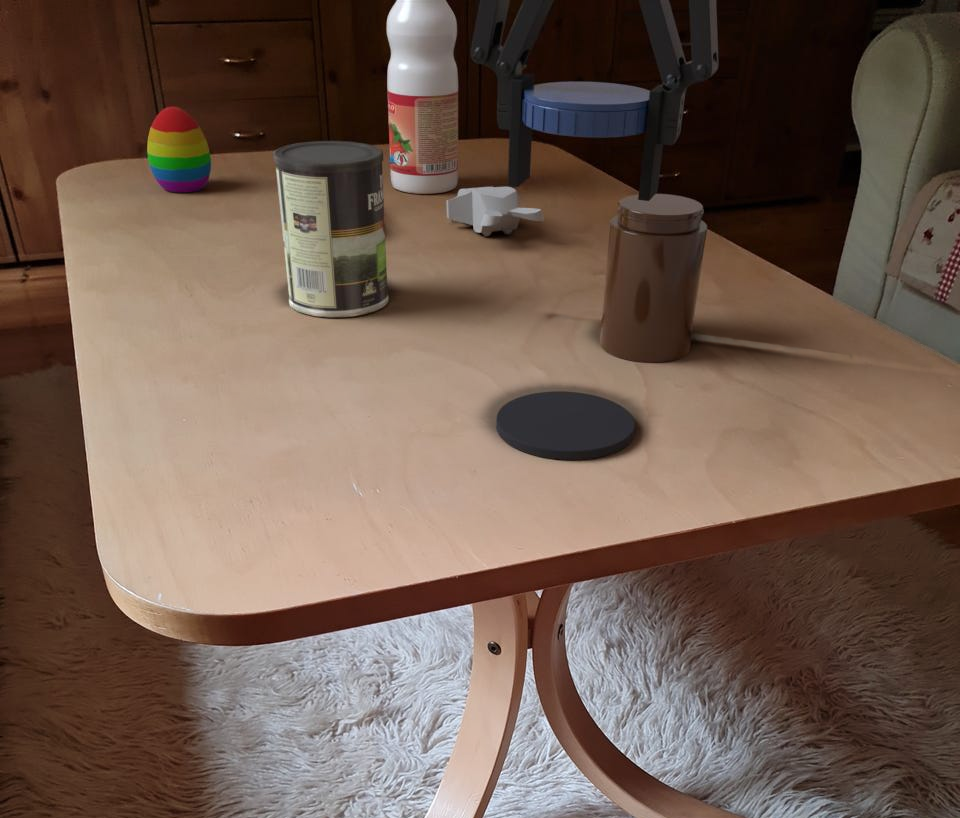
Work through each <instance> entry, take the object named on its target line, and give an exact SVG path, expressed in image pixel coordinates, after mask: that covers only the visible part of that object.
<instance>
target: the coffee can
mask: <svg viewBox="0 0 960 818" xmlns="http://www.w3.org/2000/svg"><path fill="white" fill-rule="evenodd" d="M272 158H273V162H274V164H275V172H276V182H277V193H278V201H279V202H278V203H279V212H280V221H281V231H282V241H283V250H284V257H285V258H284V260H285V269H286V280H287V291H288V304H289V306H290V307H291V308H292V309H293V310H294V311H296V312H299V313H301V314H305V315H308V316H312V317H319V318H350V317H351V318H352V317H359V316H364V315H368V314H372V313H376V312H377V311H379V310H381V309H383V308H384V307H386V305H387V304H388V303H389V299H390V298H389V297H390V296H389V294H388V290H389V289H388V271H387V269H388V268H387V247H386V223H385V200H384V199H385V197H384V196H385V195H384V177H383V175H384V174H383V162H384V151H383V149H381V148H380V147H377V146H375V145H372V144H368V143H362V142H358V141H346V140H345V141H341V140H316V141H307V142H306V141H305V142H304V141H303V142H297V143H291V144H288V145H283V146H281V147H279V148H276V150H274V151H273V152H272Z"/></svg>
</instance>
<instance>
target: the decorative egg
mask: <svg viewBox="0 0 960 818" xmlns="http://www.w3.org/2000/svg"><path fill="white" fill-rule="evenodd" d="M146 149H147V150H146V152H147V160H148V164H149V169H150V171H151V173H152V175H153V177H154V179H155V180H156V183H158V185H159V186H160V187H161V188H162V189H164V191H167V192H171V193H193V192H197V191H198V192H199V191H201V190H203V189H204V188H205V187H206V185H207V183H208V181H209V178H210V175H211V172H212V171H211V170H212V158H211V152H210V147H209V145H208V141H207V138H206V136H205V134H204V132H203V131H202V129H201V127H200V126H199V124H198V123H197V122H196V120H195V119H194V118H193V116H191V115H190V114H189V113H188V112H187V111H185V109H183V108H180V107H178V106H167V107H164V108H162V110H161V111H160V112H158V114H157V115H156V116H155V118H154V119H153V122H152V124H151V126H150V128H149V131H148V136H147V146H146Z"/></svg>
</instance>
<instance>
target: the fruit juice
mask: <svg viewBox="0 0 960 818" xmlns="http://www.w3.org/2000/svg"><path fill="white" fill-rule="evenodd" d="M386 36H387V41H388V45H389V48H390V59H389V61H388V65H387V72H386V73H387V76H386V77H387V79H386V80H387V81H386V85H387V86H386V88H387V110H388V137H389V138H388V140H389V165H390V167H389V168H390V180H391V186H392V187H393V188H394V189H395V190H396V191H399V192H404V193H409V194H417V195H432V194H441V193H446V192H450V191H453V190H455V189H456V188H457V186H458V182H459V181H458V180H459V72H458V66H457V62H456V60H455V56H454V55H455V54H454V52H455V51H454V50H455V46H456V42H457V37H458V23H457V18H456V15H455V13H454V11H453V10H452V8H451V7H450V5H449V3H448V2H447V0H395V2H394V4H393V5H392V7H391V8H390V11H389V13H388V15H387V19H386Z"/></svg>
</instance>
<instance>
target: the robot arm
mask: <svg viewBox="0 0 960 818" xmlns="http://www.w3.org/2000/svg"><path fill="white" fill-rule="evenodd" d="M554 1H555V0H523V1H522V3H521V5H520V6H519V9H518V11H517V14H516V17H515V19H514V21H513V23H512V26H511V28H510V30H509V33H508V35H507V37H506V39H505V41H504V44H503V45H502V42H503V36H504V31H505V26H506V22H507V16H508V13H509V8H510V7H509V6H510V2H511V0H479V4H478V9H477V14H476V19H475V25H474V29H473V35H472V42H471V46H470V58H471V60H472V61H473V63H475V64H476V65H483V66H485V67H486V68H489V69H490V70H492V71H493V72H494V74H495V75H496V79H497V100H496V104H497V105H496V123H497V127H498V129H499V130H505V131H506V130H507V131H509V136H508V137H509V138H508V140H509V141H508V165H507V186H509V187H511V186H512V187H519V186H521V185H522V184H523V183H525V182H527V181H528V180H529V179H530V178H531V162H532V144H533V143H532V141H533V129H531V128H529V127H527V126H526V125H525V124H524V122H523V121H522V106H523V99H524V91H525V89H526V88H528V87H530V86H533V85H535V80H536V79H535V76H536V75H535V74H531V73H523V71H524V70H525V69H526V68H527V66H528V65H527V64H526V62H527V61H528V59H529V56H530V54H531V51H532V50H533V47H534V45H535V43H536V41H537V38H538V37H539V34H540V32H541V29H542V27H543V25H544V23H545V21H546V18H547V16H548V14H549V12H550V10H551V7H552V5H553V3H554ZM638 3H639V6H640V10H641V13H642V17H643V20H644V23H645V27H646V31H647V34H648V38H649V42H650V44H651V48H652V51H653V55H654V59H655V62H656V65H657V68H658V69H657V70H658V73H659V76H660V79H661V82H662V84H658V85H656V86H655V87H654V88H652V89H650V90H649V91H650V94H649V103H648V112H647V122H646V131H645V132H644V141H643V151H642V159H641V167H640V168H641V169H640V177H639V188H638V194H637V195H638V200H643V201H650V199H651V198H652V197H653V196H654V195H655V194H658V191H659V184H660V174H661V168H662V167H661V166H662V159H663V148H664V146H673V145H674V144H676V142H677V141H678V139H679V137H680V135H681V131H682V121H683V115H684V114H683V113H684V106H685V98H686V93H687V90H688V88H689V86H692V85H694V84H697V83H700V82H701V83H702V82H706V81H708V80H709V79H710V78H711V77H712V76H713V75H714V74H716V72H717V71H718V69H719V40H718V39H719V38H718V14H717V0H688V11H689V30H690V31H689V32H690V48H691V49H690V51H691V60H690V61H686V57H685V53H684V49H683V46H682V43H681V40H680V36H679V32H678V28H677V24H676V21H675V17H674V14H673V10H672V6H671V2H670V1H669V0H638Z"/></svg>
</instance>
